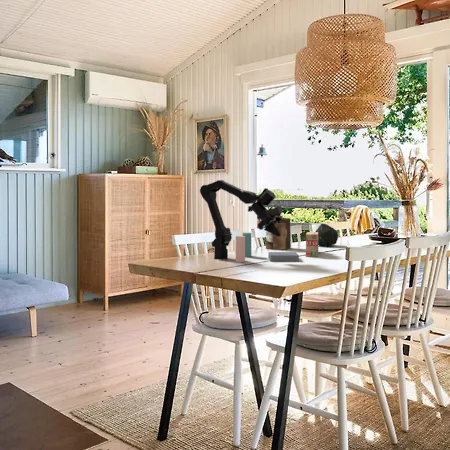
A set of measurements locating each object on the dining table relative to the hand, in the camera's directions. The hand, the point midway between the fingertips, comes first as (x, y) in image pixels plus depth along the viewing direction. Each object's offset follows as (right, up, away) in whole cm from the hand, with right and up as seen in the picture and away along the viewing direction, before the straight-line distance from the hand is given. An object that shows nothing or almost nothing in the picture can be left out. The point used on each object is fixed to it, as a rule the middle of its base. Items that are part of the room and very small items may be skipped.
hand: (281, 235), depth 264 cm
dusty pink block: (-20, -13, +7) cm, 25 cm away
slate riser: (+2, -12, +14) cm, 19 cm away
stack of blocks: (+20, -11, +35) cm, 42 cm away
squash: (+35, -8, +77) cm, 85 cm away
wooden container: (+4, -9, +64) cm, 65 cm away
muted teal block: (-16, -12, +27) cm, 33 cm away
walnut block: (-1, -7, +1) cm, 7 cm away
